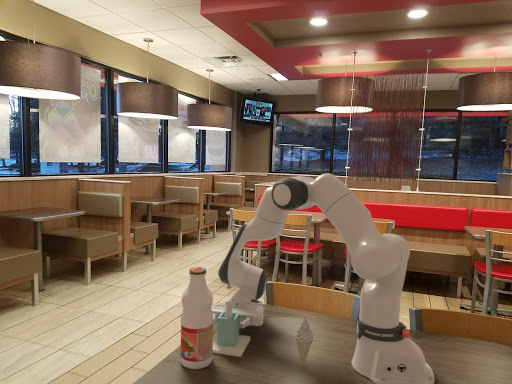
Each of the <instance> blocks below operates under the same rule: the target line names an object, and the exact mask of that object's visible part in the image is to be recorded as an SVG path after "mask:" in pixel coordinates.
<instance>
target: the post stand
mask: <svg viewBox="0 0 512 384" xmlns="http://www.w3.org/2000/svg"><path fill="white" fill-rule="evenodd" d="M230 299H231V298H230ZM230 299H226V300H225V302H224V304H225V318H231V319H232V304H233V303H232V301H231V300H230ZM250 341H251V336H249V335H243V334H239V340H238V342H237V343H236V345H235V347H227V346H220V345H217V331H216V332H215V334H213V354H218V355H223V356H225V355H226V356H230V357H231V356H232V357H240V358H241V357H242V356H243V354H244V352H245V350H246V348H247V346H248V345H249V343H250Z"/></svg>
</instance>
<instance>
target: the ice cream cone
mask: <svg viewBox="0 0 512 384" xmlns="http://www.w3.org/2000/svg"><path fill="white" fill-rule="evenodd" d="M296 332H297V333H296V337H295V341H296V345H297V349H298V353H299V357H300V362H301V365H302V367H305V364H306V361H307V358H308V355H309V352H310V349H311V346H312V343H313V341H314V333H313V330H311V328H310V325H309V322H308V320H307V316H305V317H304V319H303V321H302V323H301V324H300V327H299V330H297V331H296Z"/></svg>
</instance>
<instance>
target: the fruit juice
mask: <svg viewBox="0 0 512 384" xmlns="http://www.w3.org/2000/svg"><path fill="white" fill-rule="evenodd" d="M188 275H189V276H190V277H189V281H188V282H189V283H188V285H187V288H185V290H184V291H183V292H182V295H181V306H182V311H181V315H180V363H181V365H182V366H183V367H185V368H186V369H189V370H199V369H204V368H206V367H208V366H210V365H211V363H212V361H213V354H214V353H213V336H214V324H213V312H212V309H211V306H212V304H213V303H214V295H213V292H212V291H211V289H210V288H209V287H208V285H207V281H206V276H207V268H206V267H202V266H193V267H191V268H189V272H188Z"/></svg>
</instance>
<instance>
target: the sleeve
mask: <svg viewBox="0 0 512 384" xmlns="http://www.w3.org/2000/svg"><path fill="white" fill-rule="evenodd" d="M216 329H217V331H216V332H217V345H220V346H227V347H235V345H236V343H237V342H238V340H239V335H240V324H239V313H236V312H232V319H231V318H225V311H223V312H222V313H221V314H220V315H219V317H218V321H217V327H216Z"/></svg>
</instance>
